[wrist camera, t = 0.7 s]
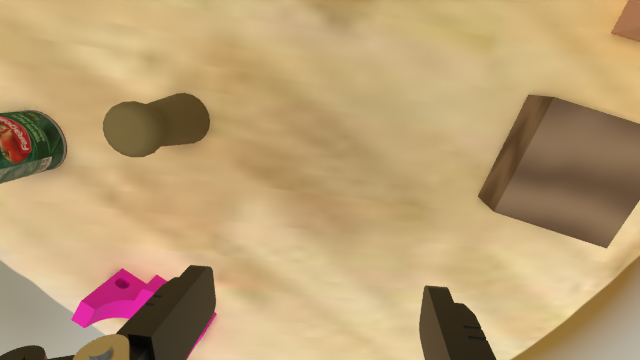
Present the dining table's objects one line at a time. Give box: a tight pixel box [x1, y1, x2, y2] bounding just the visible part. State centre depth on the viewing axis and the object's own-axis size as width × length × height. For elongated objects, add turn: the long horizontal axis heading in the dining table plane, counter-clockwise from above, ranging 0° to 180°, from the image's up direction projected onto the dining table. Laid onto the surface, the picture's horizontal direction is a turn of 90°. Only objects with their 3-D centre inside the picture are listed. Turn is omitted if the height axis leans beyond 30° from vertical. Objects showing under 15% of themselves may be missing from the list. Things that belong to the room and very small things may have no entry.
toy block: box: [72, 268, 216, 360], centre depth 44 cm, size 15×6×8 cm, turn 55°
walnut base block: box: [478, 95, 640, 248], centre depth 33 cm, size 12×12×5 cm
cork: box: [103, 93, 210, 157], centre depth 34 cm, size 6×6×11 cm
